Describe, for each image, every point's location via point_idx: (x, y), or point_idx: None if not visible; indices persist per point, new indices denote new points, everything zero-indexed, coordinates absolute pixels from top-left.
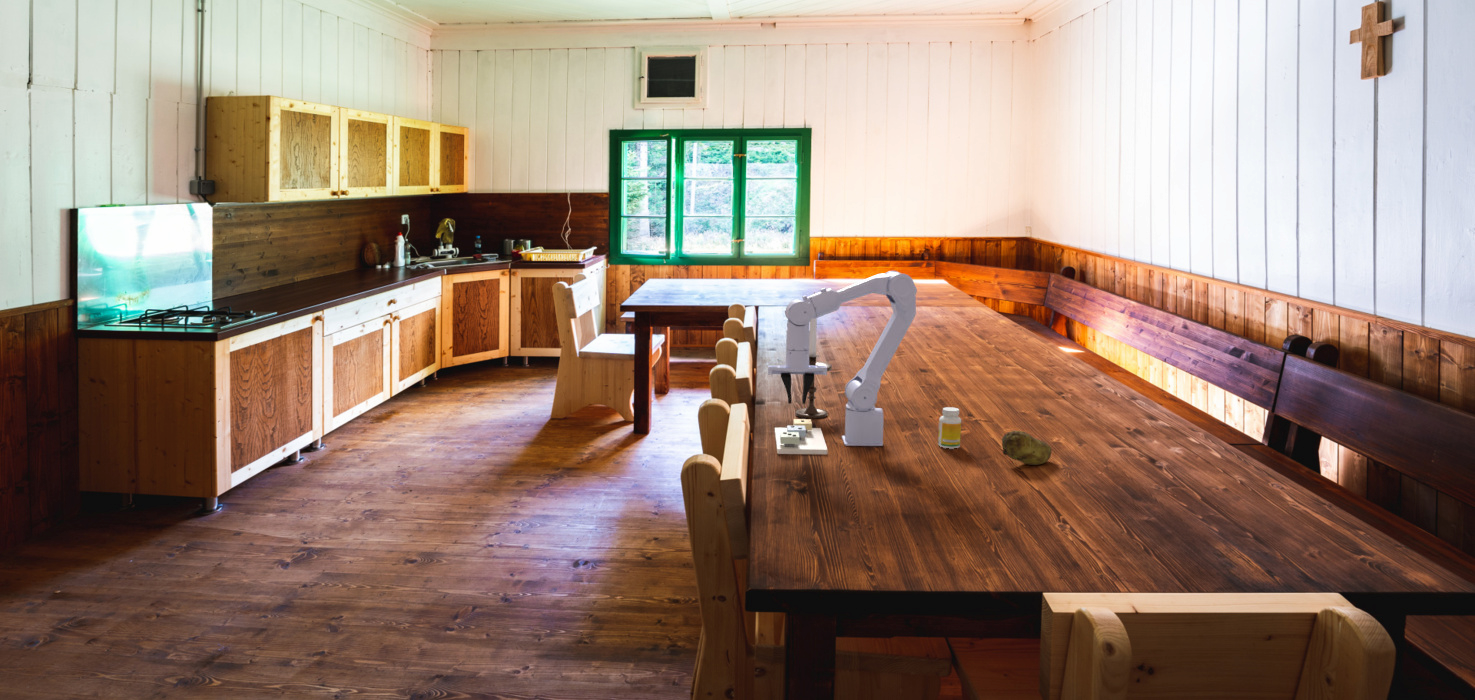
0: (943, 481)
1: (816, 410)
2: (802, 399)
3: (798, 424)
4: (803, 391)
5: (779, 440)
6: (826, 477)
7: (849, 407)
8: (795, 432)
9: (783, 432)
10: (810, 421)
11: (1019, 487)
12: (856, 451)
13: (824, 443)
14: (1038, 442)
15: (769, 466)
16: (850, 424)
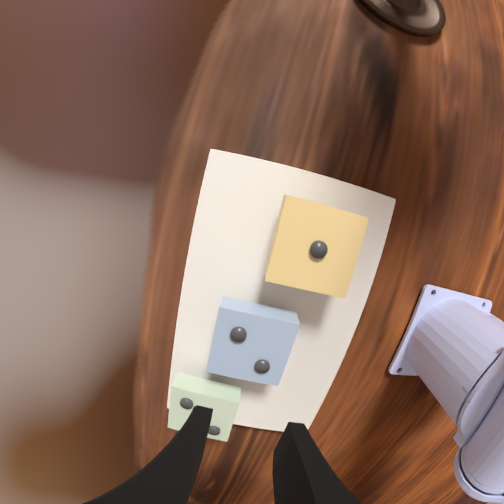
0: (396, 499)
1: (419, 1)
2: (282, 451)
3: (284, 283)
4: (286, 501)
5: (185, 337)
6: (242, 500)
7: (461, 424)
8: (227, 403)
9: (181, 402)
10: (353, 258)
11: (444, 492)
12: (386, 406)
13: (325, 390)
14: None
15: (147, 450)
16: (433, 392)
